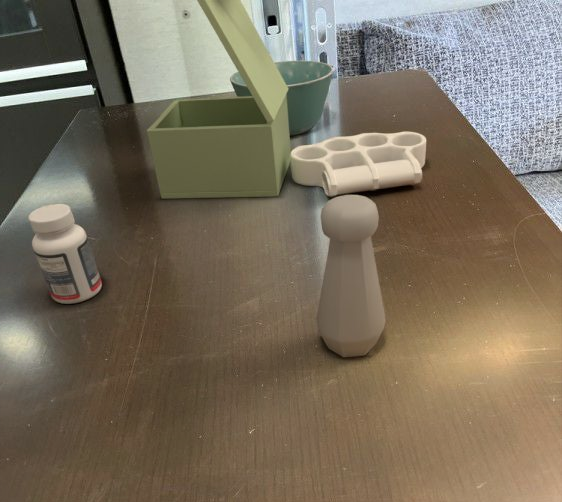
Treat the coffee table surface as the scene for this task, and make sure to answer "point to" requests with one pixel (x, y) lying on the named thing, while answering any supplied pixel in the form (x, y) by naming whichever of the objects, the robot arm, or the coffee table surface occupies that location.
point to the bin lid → (247, 53)
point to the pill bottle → (64, 254)
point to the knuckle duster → (360, 162)
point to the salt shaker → (350, 278)
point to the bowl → (298, 91)
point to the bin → (219, 149)
